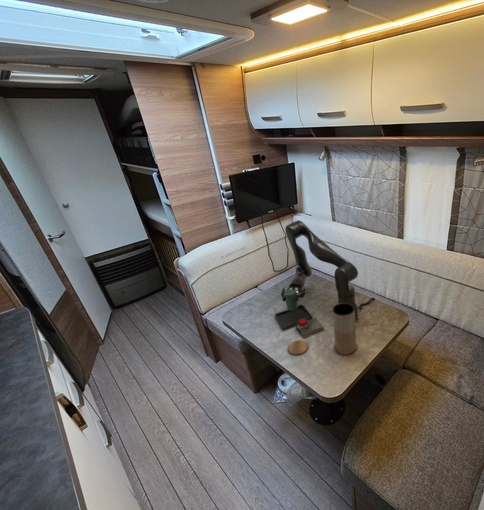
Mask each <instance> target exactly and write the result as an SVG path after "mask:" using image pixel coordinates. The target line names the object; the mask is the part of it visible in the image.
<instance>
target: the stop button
mask: <svg viewBox="0 0 484 510" xmlns="http://www.w3.org/2000/svg"><path fill="white" fill-rule="evenodd" d="M299 324H300V325H305V324H306V320H305V319H300V320H299Z"/></svg>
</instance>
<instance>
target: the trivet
mask: <svg viewBox="0 0 484 510" xmlns="http://www.w3.org/2000/svg"><path fill="white" fill-rule="evenodd" d="M307 350H308V344H307V342H305V341H304V340H295V341H293V342H291V343H290V344H289V346H288V352H289V353H290V354H291V355H294V356H300V355H303V354H304V353H305V352H306V351H307Z"/></svg>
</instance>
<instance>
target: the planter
mask: <svg viewBox="0 0 484 510" xmlns="http://www.w3.org/2000/svg"><path fill="white" fill-rule="evenodd" d="M332 319H333V333H334V335H333V336H334V346H335V347H334V348H335V350H336V351H337V352H338V354H340V355H349V354H352V353H354V352H355V350H356V348H357V340H356V339H357V338H356V337H357V336H356V335H357V334H356V320H355V308H354V306H353V305H352V304H350V303H339V304H338V303H336V304H335V305H334V306H333V307H332Z"/></svg>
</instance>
